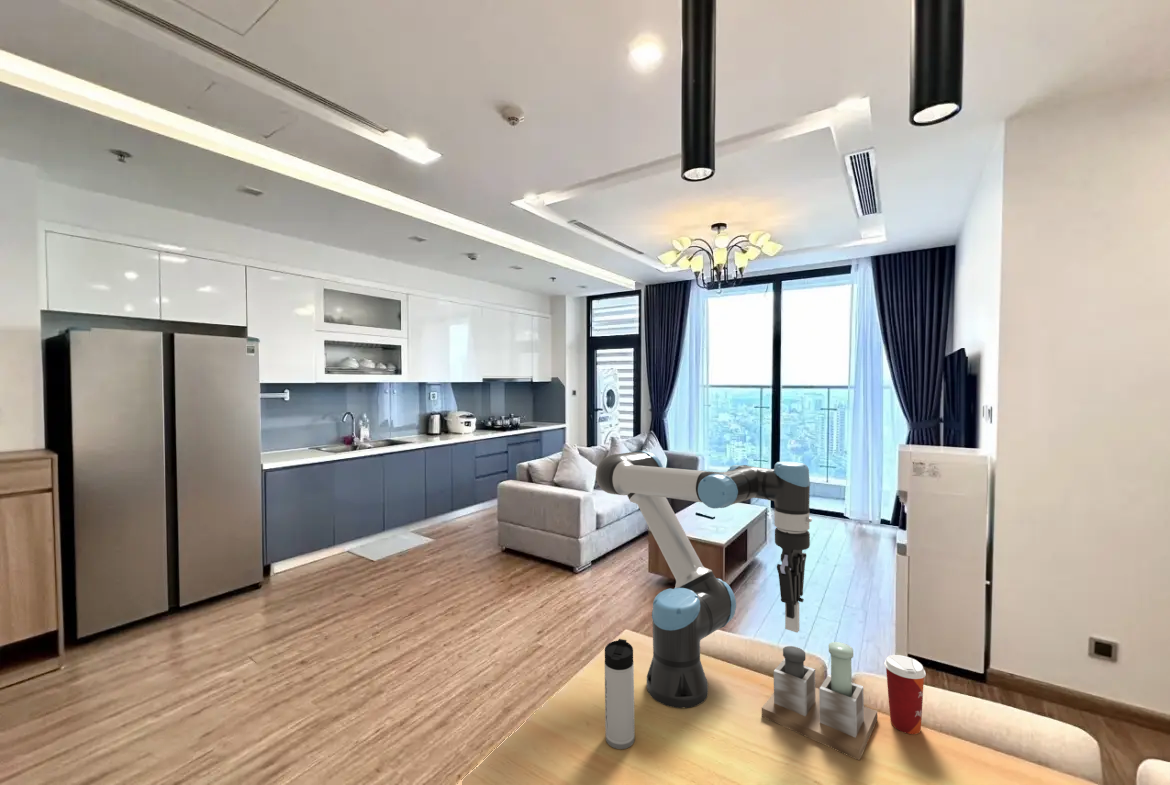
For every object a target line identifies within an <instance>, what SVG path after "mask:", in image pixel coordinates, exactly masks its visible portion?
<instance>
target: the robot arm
mask: <svg viewBox="0 0 1170 785" xmlns="http://www.w3.org/2000/svg"><path fill="white" fill-rule="evenodd" d="M595 480H596V483H597V485H598V486H599V487H600V489H601V490H602V491H604V492H605V493H607V494H611V495H618V496H627V498H628V499H629V500H628V501H630V503H634V504H636V505H637V506H638V508H639V510H640V512H641V514H642V516H643V518H644V520H645V522H646V523H647V526H648V527H649V531H650V532H651V534H652V536H653V538H654V540H655V542H656V544H657V546H658V547H659V549H660V551H661V553H662V556H663V557H664V559H665V561H666V563H667V565H668V567H669V569H670V571H671V573H672V575H673V577H674V578H675V585H674V586H675V587H674V588H667V589H663V590H662V591H660V592H658V594H657V595H656V596H655V597H654V598H653V602H652V611H651V618H652V653H653V654H652V655H653V656H652V659H651V662H650V664H649V665H650V666H649V668H648V672H647V675H646V689H647V693H648V695H649V696H650V697H651V698H652V699H653V700H655V701H656V702H658V703H659V704H662V705H664V706H665V707H670V708H675V709H687V708H694V707H697V706H699V705H701V704H703V703H704V702H705V701H706V699H707V698H708V696H709V685H708V684H709V683H708V680H707V677H706V674H705V671H704V670H705V669H704V668H703V667H704V666H703V664H702V661H701V641H702V640H704V638H706V637H708V636H710V635H711V634H713V633H715V632H716V631H718V630H719V629H722V628H724V627H726V625H727V624H729V622H731V621H732V619H733V618H734V617H735V614H736V609H737V600H736V596H735V593H734V591H733V589H732V588H731V586H730V585H729V584H728V583H727V582H726V581H723V580H722V578H716V576H715V574H714V572H713V570H712V569H709V568H707V567H705V566H704V565H703V563H702V562H701V560H700V557H699V555H698V554H697V552H696V550H695V548H694V547H693V545H692V543H691V541H690V539H689V537H688V536H687V534H686V531H685V530H684V528H683V527H682V525H681V523H680V521H679V518H678V517H677V515H676V513H675V512H674V509H673V508H672V506H671V505H670V504H671V503H669V500H668V499H674V500H682V501H690V502H696V503H703V504H704V505H705V506H707V507H708V508H711V509H724V508H728V507H730V506H731V505H735V504H738V503H740V502H741V503H742V502H743V501H744V502H745V501H748V500H751V499H760V500H761V499H762V500H767V501H773V502H774V526H775V529H774V543H775V545H776V546H778V547H779V548H781V550H782V552H781V554H780V562H781V564H780V563H777V564H776V570H777V574H778V583H779V591H780V592H779V593H780V601H781V602H782V603H784V605H785V606H784V613H785V614H784V620H785V621H784V622H785V623H784V626H785V627H784V628H785V630H788V631H791V632H794V633H796V634H797V633H798V632H800V603H803V602H804V601H805V600H804V598H803V597H802V596H803V595H804V584H805V583H804V582H805V570H806V569H805V566H806V560H807V553H806V552H803V551H805V550H808V549H809V548H810V546H811V540H810V538H811V536H810V534H811V533H810V532H809V530H810V523H811V522H812V521H813V519H812V518H811V517H810V496H811V495H810V494H811V491H810V490H811V489H810V486H811V482H810V468H809V467H808V466H807V464H806V463H802V462H797V461H777V462H776V463H775V464H774V468H766V467H759V466H758V467H757V466H752V465H751V466H750V465H747V464H733V465H731V466H730V467H729V469H727V471H721V472H720V471H709V470H708V471H706V470H697V469H696V470H695V469H684V468H674V467H673V468H672V467H663V465H662V462H661V460H660V459H659V457H657V455H656V454H654V453H653V452H651V451H647V450H634V451H630V452H623V453H614V454H610V455H608V456H606V457H604V458H602V459H601V460H600V462H599V463H598V464H597V467H596V469H595Z"/></svg>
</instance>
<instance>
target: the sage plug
mask: <svg viewBox="0 0 1170 785" xmlns="http://www.w3.org/2000/svg"><path fill="white" fill-rule="evenodd" d="M828 653H829V654H830V675H831V690H832V691H835V692H838V693H840V694H843V695H846V696H848V697H852V683H853V682H852V681H853V677H852V675H853V672H852V667H853V666H852V659H853V658H854V649H853V647H851V645H849V644H846V643H844V642H838V641H833V642H830V643H828Z"/></svg>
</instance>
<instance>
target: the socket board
mask: <svg viewBox="0 0 1170 785" xmlns="http://www.w3.org/2000/svg"><path fill="white" fill-rule="evenodd" d="M864 697H865V696H864V686H863V685H861V684H857V683H855V682H852V697H848V696H846V695H843V694H840V693H838V692H835V691H832V690H831V673H830V674H828V675H826V677H825V679H824V681H823V682H822V684H821V685H820V686H819V688H818V687H816V669H815V668H813V667H809V666H808V665H806V664H804V677H803V678H802V679H800V678H798V677H795V676H792V675H790V674H787V673H785V658H784V657H783V659H782V661H781V662H780V663H779V664H778V665H777V666H776V668H774V670H773V693H772V694H771V696H770V697H769V698H768V699H767V700H766V701H765V703H764V704H763V706H762V707H761V717H762V718H764V719H766V720H769V721H771V722H774V723H776V724H778V725H780V726H782V727H783V728H786V729H789V730H791V731H793V732H795V733H798V734H800V735H802V736H804V737H806V738H808V739H811V740H813V741H815V742H817V741H818V743H820V744H822V745H825V746H826V747H828V746H829V747H828V748H831V749H833V748H834V750H835V749H836V750H835V751H837V750H838V751H837V752H839V751H840V753H842V752H843V753H842V754H844V753H845V754H844V755H846V754H847V755H846V756H848V755H849V756H848V757H851V758H853V759H855V758H856V759H855V760H858V761H859V760H860V761H861V759H860V758H862V756H863V753H864V752H865V749H866V747H867V744H868V743H869V740H870V738H871V736H870V735H872V733H873V731H874V729H875V726H876V724H877V722H878V710H876V709H874V708H873V709H872V708H870V707H867V706H865V705H864V700H865V699H864ZM867 742H868V743H867Z"/></svg>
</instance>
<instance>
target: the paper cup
mask: <svg viewBox="0 0 1170 785" xmlns="http://www.w3.org/2000/svg"><path fill="white" fill-rule="evenodd" d="M883 665H884V667H885V670H886V682H887V695H888V696H887V697H888V708H889V709H888V710H889V718H890V719H889V720H890V723H891V725H892V726H893V727H894V728H895V729H896V730H898V731H900V732H901V733H905V734H908V735H918V734H920V733H921V728H922V717H923V716H922V715H923V704H924V703H923V701H924V685H925V684H924V683H925V677H926V676H927V674H926V670H925V669H924V666H923V664H922V663H921V662H919V661H918V660H917V659H915V658H913V657H909V656H906V655H902V654H891V655H888V656H887V657H886V658H885V661H884V664H883Z"/></svg>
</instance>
